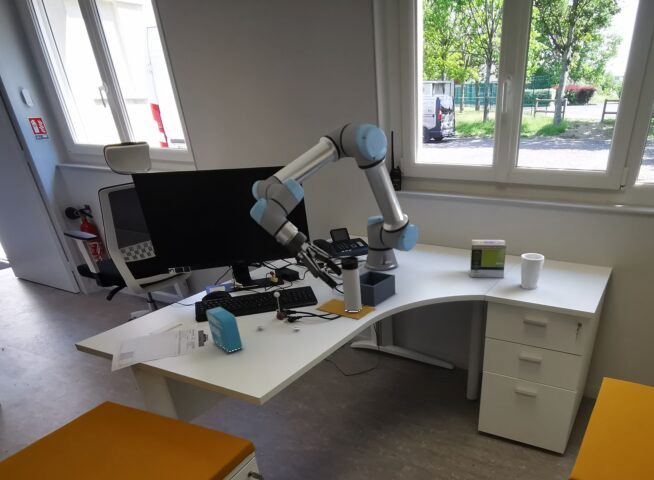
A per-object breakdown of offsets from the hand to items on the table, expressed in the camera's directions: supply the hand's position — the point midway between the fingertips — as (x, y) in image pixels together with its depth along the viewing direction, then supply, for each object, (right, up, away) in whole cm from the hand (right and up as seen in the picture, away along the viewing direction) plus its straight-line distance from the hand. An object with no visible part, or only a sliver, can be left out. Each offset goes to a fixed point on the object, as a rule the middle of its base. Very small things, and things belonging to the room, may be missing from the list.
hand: (338, 280), depth 166 cm
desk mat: (+1, -9, +8) cm, 13 cm away
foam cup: (+77, +4, +29) cm, 82 cm away
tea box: (+61, +12, +42) cm, 75 cm away
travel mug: (+5, -10, +6) cm, 13 cm away
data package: (-33, -26, -18) cm, 46 cm away
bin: (+11, -3, +19) cm, 22 cm away
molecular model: (-21, -18, -5) cm, 28 cm away
